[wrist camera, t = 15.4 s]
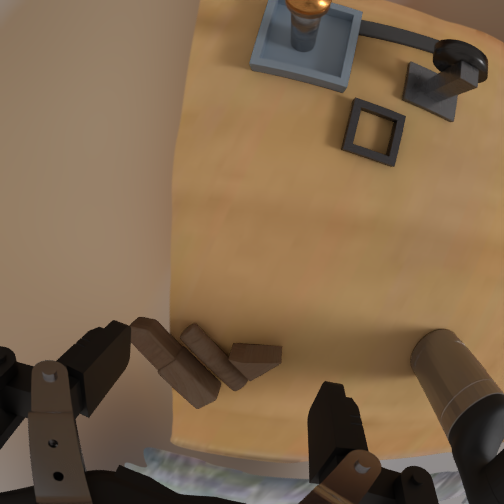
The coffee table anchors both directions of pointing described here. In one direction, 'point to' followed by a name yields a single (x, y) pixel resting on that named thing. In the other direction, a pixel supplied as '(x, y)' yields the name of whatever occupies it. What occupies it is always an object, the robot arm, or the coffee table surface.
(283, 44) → the tray
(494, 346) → the coffee table surface
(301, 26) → the pin
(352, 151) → the frame
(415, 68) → the pulley stand
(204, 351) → the wooden block set
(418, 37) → the strip
